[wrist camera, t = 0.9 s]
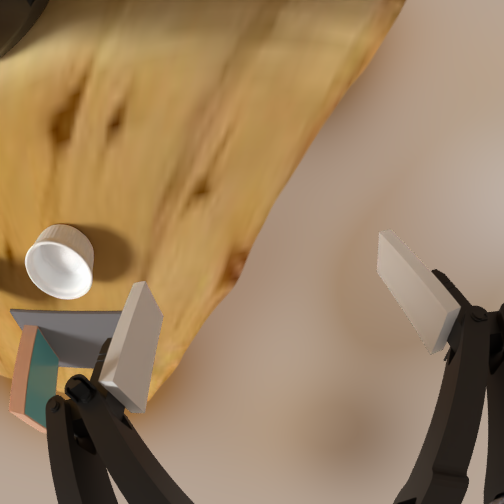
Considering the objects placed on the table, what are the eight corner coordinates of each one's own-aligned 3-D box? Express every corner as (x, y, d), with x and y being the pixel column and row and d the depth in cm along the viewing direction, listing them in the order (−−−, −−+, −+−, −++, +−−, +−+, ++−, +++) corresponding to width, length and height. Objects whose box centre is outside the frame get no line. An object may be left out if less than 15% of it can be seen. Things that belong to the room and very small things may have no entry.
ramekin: (68, 284, 31) (61, 308, 28) (24, 241, 25) (12, 264, 22) (112, 257, 31) (107, 282, 28) (66, 205, 25) (54, 228, 22)
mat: (48, 363, 42) (48, 365, 41) (10, 309, 31) (9, 311, 30) (144, 366, 48) (144, 368, 48) (128, 311, 37) (128, 313, 37)
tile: (47, 357, 40) (40, 432, 28) (24, 324, 33) (8, 410, 21) (59, 358, 41) (54, 434, 29) (37, 325, 34) (24, 414, 22)
